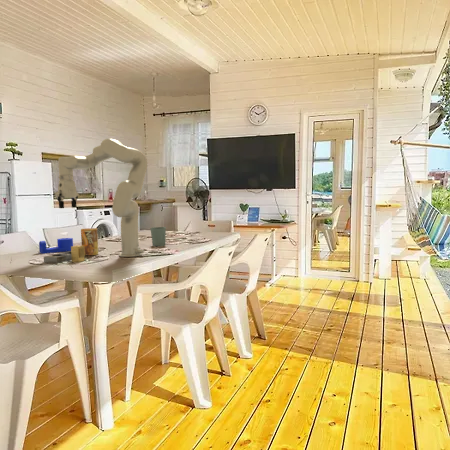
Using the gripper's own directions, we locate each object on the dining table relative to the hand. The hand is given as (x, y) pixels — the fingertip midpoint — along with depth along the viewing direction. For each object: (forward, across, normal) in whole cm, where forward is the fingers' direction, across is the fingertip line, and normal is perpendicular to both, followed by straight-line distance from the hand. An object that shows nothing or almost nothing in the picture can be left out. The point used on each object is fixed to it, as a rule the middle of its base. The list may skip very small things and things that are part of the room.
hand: (67, 207), depth 237 cm
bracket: (+28, +6, +17) cm, 33 cm away
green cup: (+28, +48, -30) cm, 63 cm away
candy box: (+28, +2, -13) cm, 31 cm away
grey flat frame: (+27, -16, -12) cm, 34 cm away
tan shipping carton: (+28, -18, -23) cm, 40 cm away
